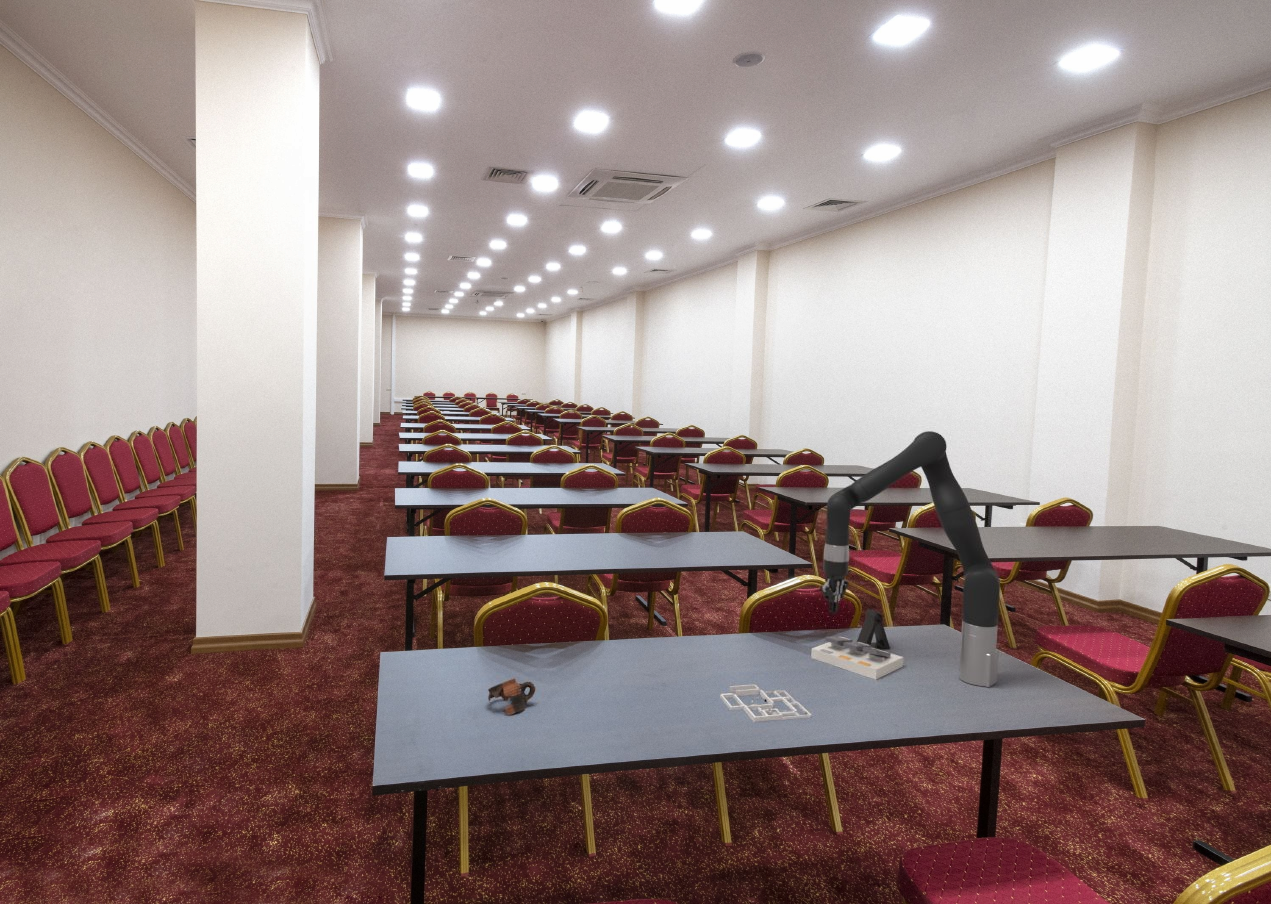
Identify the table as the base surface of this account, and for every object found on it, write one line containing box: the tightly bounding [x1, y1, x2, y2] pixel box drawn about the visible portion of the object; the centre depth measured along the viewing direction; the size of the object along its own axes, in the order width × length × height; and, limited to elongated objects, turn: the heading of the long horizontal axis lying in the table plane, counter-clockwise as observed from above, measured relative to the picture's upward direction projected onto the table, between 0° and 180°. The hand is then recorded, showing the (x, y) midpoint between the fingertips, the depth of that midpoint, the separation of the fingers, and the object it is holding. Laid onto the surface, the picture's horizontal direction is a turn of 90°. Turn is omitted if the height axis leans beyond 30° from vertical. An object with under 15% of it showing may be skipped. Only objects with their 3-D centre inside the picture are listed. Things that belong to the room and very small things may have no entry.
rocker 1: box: [824, 636, 854, 645], centre depth 219 cm, size 4×9×1 cm, turn 132°
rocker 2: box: [843, 641, 871, 650], centre depth 214 cm, size 4×9×1 cm, turn 132°
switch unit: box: [810, 642, 904, 680], centre depth 214 cm, size 22×16×4 cm
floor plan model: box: [719, 684, 813, 723], centre depth 182 cm, size 19×25×2 cm
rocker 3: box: [863, 647, 892, 657], centre depth 209 cm, size 4×9×1 cm, turn 132°
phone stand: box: [856, 608, 891, 651], centre depth 228 cm, size 9×6×12 cm, turn 97°
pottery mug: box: [487, 678, 536, 717], centre depth 178 cm, size 12×10×8 cm
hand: (833, 612), depth 216 cm, fingers closed
